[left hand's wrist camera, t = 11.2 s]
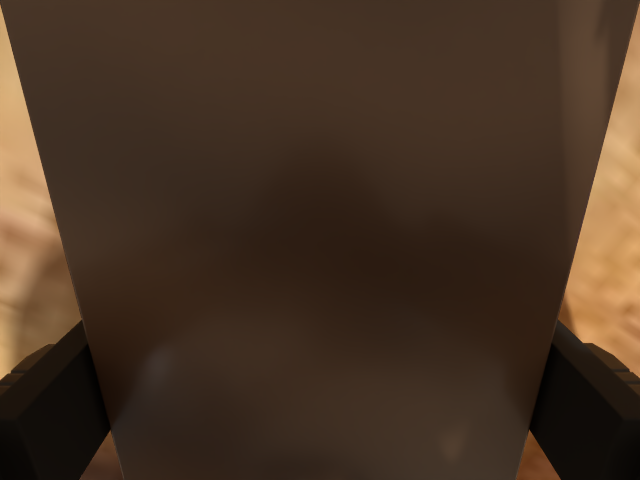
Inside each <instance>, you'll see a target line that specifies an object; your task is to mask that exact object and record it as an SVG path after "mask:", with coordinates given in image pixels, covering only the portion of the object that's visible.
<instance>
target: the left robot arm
mask: <svg viewBox="0 0 640 480" xmlns="http://www.w3.org/2000/svg"><path fill="white" fill-rule="evenodd" d="M529 429H530V431H531V433H532V434H533V436H534V437H535V439H536V441H537V442H538V444H539V445H540V447H541V449H542V450H543V452H544V453H545V455H546V456H547V458H548V460H549V461H550V463H551V464H552V466H553V468H554V469H555V471H556V472H557V474H558V475H559V477H560V479H561V480H640V378H639V377H638V376H636V375H635V374H634V373H633V372H630V371H629V369H628V368H627V367H626V366H625V365H624V364H623V363H622V362H620V361H619V360H618V359H617V358H616V357H615V356H614V355H612V354H610V353H609V352H607V351H605V350H603V349H601V348H600V347H598V346H596V345H594V344H593V343H582V342H581V341H580V340H579V339H578V338H577V337H576V336H575V335H574V334H573V333H572V332H571V331H570V330H569V329H567V328H566V327H565V326H564V325H563V324H562V323H561V322H560V321H559V320H557V324H556V327H555V331H554V335H553V339H552V343H551V347H550V351H549V354H548V358H547V362H546V366H545V370H544V374H543V378H542V382H541V385H540V389H539V393H538V397H537V401H536V405H535V409H534V412H533V416H532V420H531V424H530V428H529ZM109 431H110V426H109V422H108V418H107V414H106V410H105V406H104V402H103V399H102V395H101V391H100V387H99V383H98V379H97V375H96V372H95V368H94V364H93V360H92V356H91V352H90V348H89V345H88V341H87V337H86V333H85V329H84V325H83V321H82V320H81V321H80V322H79V323H78V324H77V325H76V326H75V327H74V328H73V329H71V330H70V331H69V332H68V333H67V334H66V335H65V336H64V337H63V338H62V339H61V340H60V341H59V342H58V343H56V344H48V345H46V346H45V347H43V348H41V349H39V350H38V351H36V352H34V353H32V354H31V355H29V356H27V357H26V358H25V359H24V360H23V361H22V362H20V363H19V364H18V365H17V366H16V367H15V368H14V369H12V370H11V373H10V374H7V375H6V376H5V377H3V378H2V379H1V380H0V480H79V479H80V477H81V475H82V474H83V472H84V471H85V469H86V468H87V466H88V464H89V463H90V461H91V460H92V458H93V456H94V455H95V453H96V452H97V450H98V449H99V447H100V445H101V444H102V442H103V441H104V439H105V437H106V436H107V434H108V433H109Z"/></svg>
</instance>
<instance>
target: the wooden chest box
mask: <svg viewBox="0 0 640 480" xmlns="http://www.w3.org/2000/svg"><path fill="white" fill-rule="evenodd" d="M639 3H640V0H0V5H1V8H2V12H3V16H4V20H5V24H6V28H7V32H8V35H9V39H10V43H11V47H12V51H13V55H14V59H15V63H16V66H17V70H18V74H19V78H20V82H21V86H22V90H23V93H24V97H25V101H26V105H27V109H28V113H29V117H30V120H31V124H32V128H33V132H34V136H35V140H36V144H37V147H38V151H39V155H40V159H41V163H42V167H43V171H44V175H45V178H46V182H47V186H48V190H49V194H50V198H51V202H52V205H53V209H54V213H55V217H56V221H57V225H58V229H59V232H60V236H61V240H62V244H63V248H64V252H65V256H66V260H67V263H68V267H69V271H70V275H71V279H72V283H73V287H74V290H75V294H76V298H77V302H78V306H79V310H80V314H81V317H82V321H83V325H84V329H85V333H86V337H87V341H88V345H89V348H90V352H91V356H92V360H93V364H94V368H95V372H96V375H97V379H98V383H99V387H100V391H101V395H102V399H103V402H104V406H105V410H106V414H107V418H108V422H109V426H110V429H111V433H112V437H113V441H114V445H115V449H116V453H117V457H118V460H119V464H120V468H121V472H122V476H123V480H516V478H517V474H518V470H519V467H520V463H521V459H522V455H523V451H524V447H525V443H526V439H527V436H528V432H529V428H530V424H531V420H532V416H533V412H534V409H535V405H536V401H537V397H538V393H539V389H540V385H541V382H542V378H543V374H544V370H545V366H546V362H547V358H548V354H549V351H550V347H551V343H552V339H553V335H554V331H555V327H556V324H557V320H558V316H559V312H560V308H561V304H562V300H563V297H564V293H565V289H566V285H567V281H568V277H569V273H570V269H571V266H572V262H573V258H574V254H575V250H576V246H577V242H578V239H579V235H580V231H581V227H582V223H583V219H584V215H585V212H586V208H587V204H588V200H589V196H590V192H591V188H592V184H593V181H594V177H595V173H596V169H597V165H598V161H599V157H600V154H601V150H602V146H603V142H604V138H605V134H606V130H607V127H608V123H609V119H610V115H611V111H612V107H613V103H614V99H615V96H616V92H617V88H618V84H619V80H620V76H621V72H622V69H623V65H624V61H625V57H626V53H627V49H628V45H629V42H630V38H631V34H632V30H633V26H634V22H635V18H636V14H637V11H638V7H639Z"/></svg>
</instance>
